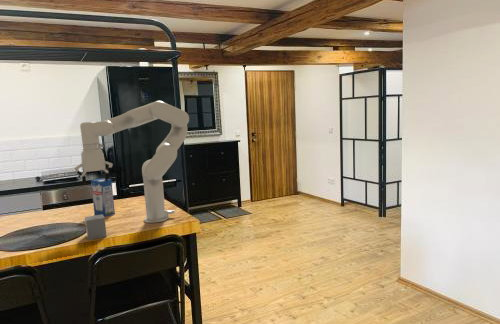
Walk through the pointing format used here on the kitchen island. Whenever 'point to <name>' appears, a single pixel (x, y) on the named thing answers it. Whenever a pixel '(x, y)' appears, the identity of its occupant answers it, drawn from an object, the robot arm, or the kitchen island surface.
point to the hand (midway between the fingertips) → (96, 182)
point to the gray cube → (95, 226)
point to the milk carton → (102, 197)
